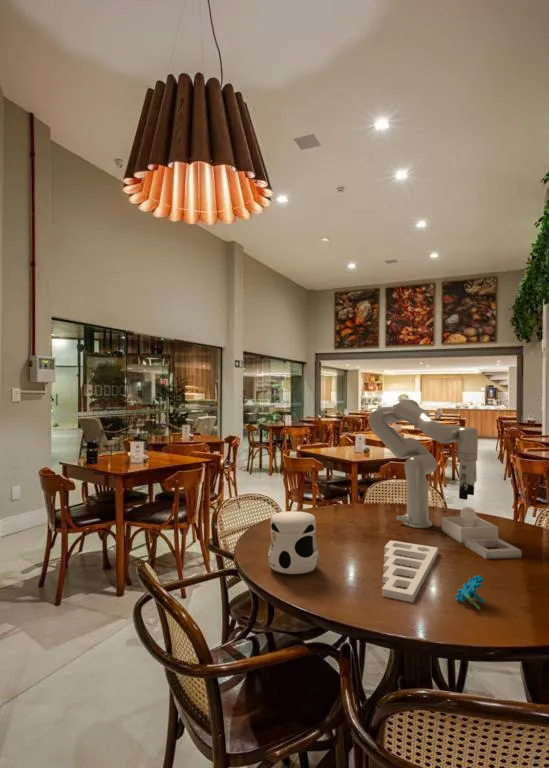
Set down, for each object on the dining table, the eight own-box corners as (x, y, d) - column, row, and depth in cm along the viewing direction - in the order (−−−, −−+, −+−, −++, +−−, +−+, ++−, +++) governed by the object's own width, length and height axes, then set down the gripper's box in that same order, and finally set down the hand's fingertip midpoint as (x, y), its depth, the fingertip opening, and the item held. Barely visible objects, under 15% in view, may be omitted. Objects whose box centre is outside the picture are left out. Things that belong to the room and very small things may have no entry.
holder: (412, 604, 129) (412, 595, 129) (352, 591, 138) (352, 582, 138) (438, 554, 168) (438, 547, 168) (390, 547, 177) (390, 540, 177)
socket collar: (485, 558, 162) (485, 552, 162) (465, 545, 176) (465, 539, 176) (521, 557, 164) (521, 550, 164) (498, 544, 178) (498, 538, 178)
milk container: (260, 564, 158) (260, 513, 158) (304, 557, 165) (304, 508, 165) (280, 583, 142) (280, 526, 142) (328, 574, 149) (327, 520, 149)
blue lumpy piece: (456, 585, 136) (481, 567, 132) (471, 601, 135) (497, 584, 131) (451, 605, 127) (477, 587, 123) (467, 623, 125) (495, 605, 121)
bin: (461, 543, 179) (460, 528, 179) (441, 531, 195) (441, 517, 195) (498, 541, 181) (498, 526, 181) (476, 529, 197) (476, 516, 197)
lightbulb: (480, 534, 187) (479, 508, 187) (469, 536, 184) (468, 510, 184) (467, 530, 192) (467, 505, 193) (457, 532, 190) (456, 506, 190)
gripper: (471, 460, 180) (470, 502, 180) (482, 455, 193) (481, 494, 193) (452, 457, 184) (451, 499, 185) (464, 453, 198) (463, 491, 198)
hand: (466, 496), depth 189 cm, fingers open, 9 cm apart
